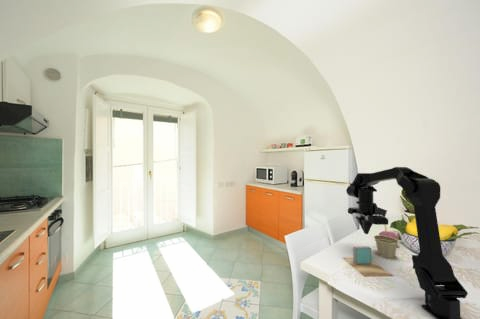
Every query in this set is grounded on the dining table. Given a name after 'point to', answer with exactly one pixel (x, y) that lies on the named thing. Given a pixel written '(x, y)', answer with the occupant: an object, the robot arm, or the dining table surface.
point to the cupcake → (389, 234)
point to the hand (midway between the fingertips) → (366, 233)
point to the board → (368, 269)
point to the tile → (362, 255)
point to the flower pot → (386, 246)
